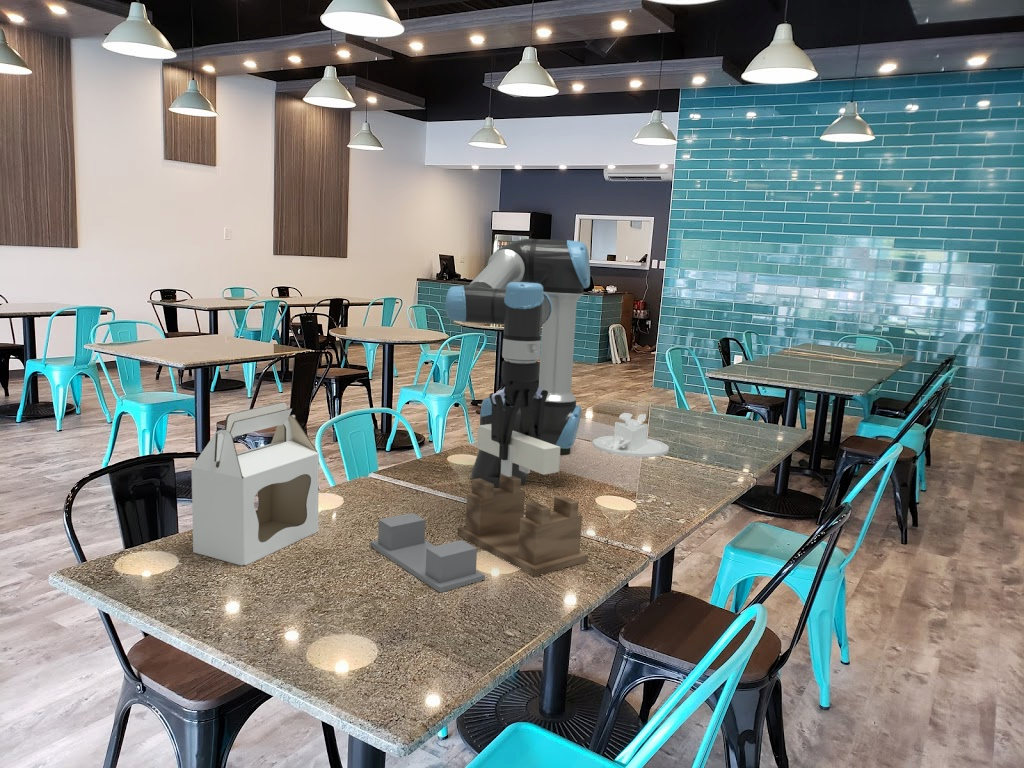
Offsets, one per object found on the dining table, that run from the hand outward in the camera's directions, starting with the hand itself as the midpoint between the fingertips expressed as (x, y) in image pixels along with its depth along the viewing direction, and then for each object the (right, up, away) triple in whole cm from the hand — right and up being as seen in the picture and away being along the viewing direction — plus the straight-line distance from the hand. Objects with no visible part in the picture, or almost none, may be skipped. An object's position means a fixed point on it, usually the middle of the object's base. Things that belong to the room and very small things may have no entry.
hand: (515, 473), depth 156 cm
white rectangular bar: (0, +3, -1) cm, 3 cm away
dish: (+38, -3, +95) cm, 103 cm away
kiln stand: (-18, -17, -7) cm, 25 cm away
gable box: (-53, -14, 0) cm, 54 cm away
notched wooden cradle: (+1, -16, +3) cm, 16 cm away
